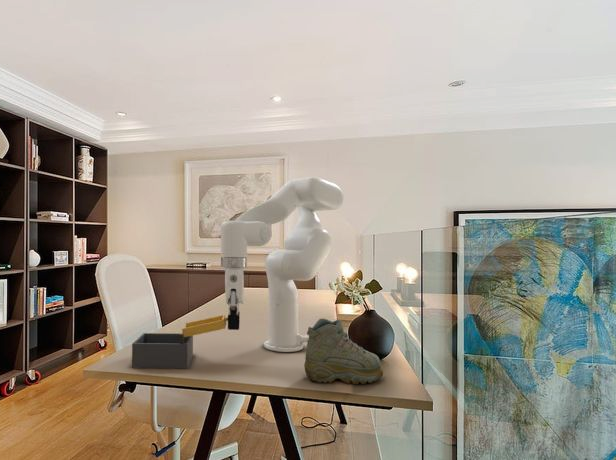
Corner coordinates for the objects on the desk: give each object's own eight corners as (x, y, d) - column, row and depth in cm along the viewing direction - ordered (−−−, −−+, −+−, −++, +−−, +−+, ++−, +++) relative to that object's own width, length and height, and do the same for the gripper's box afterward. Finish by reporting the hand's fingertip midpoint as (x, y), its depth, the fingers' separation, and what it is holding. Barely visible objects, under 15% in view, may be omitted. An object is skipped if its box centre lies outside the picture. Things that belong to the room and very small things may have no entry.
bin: (192, 355, 116) (193, 325, 117) (187, 368, 104) (187, 334, 104) (143, 354, 117) (143, 324, 117) (131, 367, 105) (132, 334, 105)
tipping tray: (239, 319, 114) (238, 310, 114) (239, 325, 106) (237, 316, 106) (187, 331, 115) (185, 322, 115) (183, 337, 107) (181, 328, 107)
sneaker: (389, 388, 89) (386, 322, 91) (304, 383, 93) (303, 320, 95) (380, 376, 99) (377, 317, 101) (304, 373, 103) (303, 316, 105)
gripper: (247, 265, 102) (247, 334, 101) (246, 262, 119) (246, 321, 118) (219, 265, 102) (218, 334, 102) (222, 262, 119) (222, 321, 119)
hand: (233, 326), depth 110 cm, fingers closed on tipping tray, 4 cm apart
